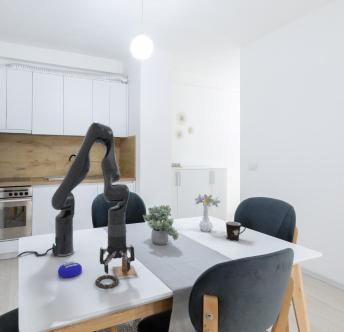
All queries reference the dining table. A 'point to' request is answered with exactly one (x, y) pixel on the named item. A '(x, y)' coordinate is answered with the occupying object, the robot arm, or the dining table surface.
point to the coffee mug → (233, 230)
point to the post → (124, 269)
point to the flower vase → (206, 211)
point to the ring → (108, 284)
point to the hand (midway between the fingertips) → (117, 272)
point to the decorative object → (69, 269)
